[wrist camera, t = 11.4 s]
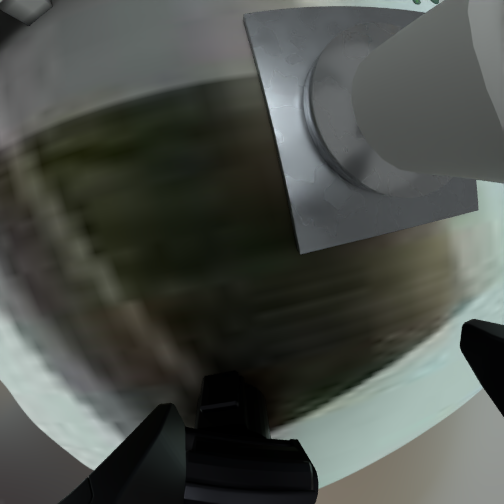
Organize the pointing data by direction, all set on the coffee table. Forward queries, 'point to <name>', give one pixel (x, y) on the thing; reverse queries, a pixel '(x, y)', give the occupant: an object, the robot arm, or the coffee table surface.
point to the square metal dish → (338, 128)
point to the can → (438, 93)
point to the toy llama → (25, 9)
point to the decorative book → (417, 1)
